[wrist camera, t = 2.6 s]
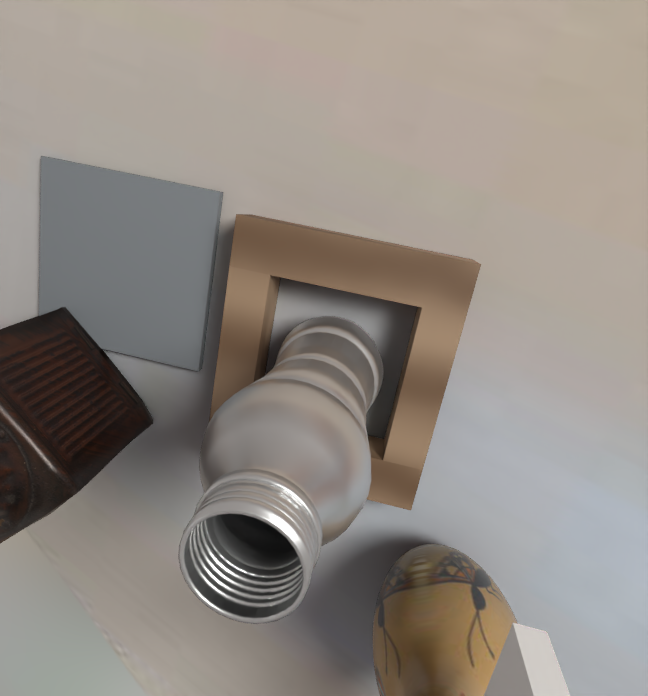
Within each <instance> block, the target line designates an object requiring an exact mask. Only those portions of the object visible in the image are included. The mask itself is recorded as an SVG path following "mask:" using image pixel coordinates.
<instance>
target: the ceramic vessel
mask: <svg viewBox="0 0 648 696" xmlns="http://www.w3.org/2000/svg"><path fill="white" fill-rule="evenodd" d="M512 623H516V624H518V623H517V620H516V618H515V616H514V614H513V612H512V610H511V608H510V606H509V604H508V602H507V601H506V599H505V597H504V596H503V594H502V592H501V591H500V589H499V588H498V587H497V585H496V584H495V583H494V581H493V580H492V579H491V578H490V576H489V575H488V574H487V573H486V572H485V571H484V570H483V569H482V568H481V567H480V566H479V565H478V564H477V563H476V562H475V561H473V560H472V559H471V558H469V557H468V556H467V555H465V554H463V553H462V552H460V551H458V550H456V549H454V548H451V547H448V546H445V545H439V544H426V545H421V546H418V547H415V548H413V549H411V550H409V551H408V552H406V553H405V554H403V555H402V556H401V557H400V558H399V559H398V560H397V561H396V562H395V563H394V565H393V566H392V567H391V569H390V570H389V572H388V574H387V576H386V578H385V580H384V582H383V584H382V587H381V589H380V592H379V596H378V599H377V603H376V608H375V614H374V622H373V659H374V668H375V675H376V680H377V685H378V690H379V694H380V696H484V694H485V691H486V689H487V686H488V684H489V681H490V679H491V676H492V674H493V671H494V669H495V666H496V664H497V661H498V659H499V656H500V654H501V651H502V649H503V646H504V643H505V641H506V638H507V636H508V633H509V631H510V628H511V626H512Z"/></svg>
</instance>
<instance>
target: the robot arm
mask: <svg viewBox="0 0 648 696" xmlns="http://www.w3.org/2000/svg"><path fill="white" fill-rule="evenodd" d="M484 696H570V694H569V691H568V688H567V685H566V683H565V680H564V677H563V674H562V672H561V669H560V666H559V663H558V661H557V658H556V655H555V652H554V649H553V647H552V644H551V641H550V638H549V636H548V633H547V632H546V631H543V630H539V629H535V628H531V627H527V626H524V625H520V624H516V623H512V626H511V628H510V631H509V633H508V636H507V638H506V641H505V643H504V646H503V649H502V651H501V654H500V656H499V659H498V661H497V664H496V666H495V669H494V671H493V674H492V676H491V679H490V681H489V684H488V686H487V689H486V691H485V694H484Z"/></svg>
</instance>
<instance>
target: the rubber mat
mask: <svg viewBox="0 0 648 696" xmlns="http://www.w3.org/2000/svg"><path fill="white" fill-rule="evenodd" d="M222 198H223V192H219V191H214V190H209V189H205V188H200V187H195V186H190V185H185V184H180V183H175V182H170V181H165V180H160V179H155V178H150V177H145V176H140V175H135V174H130V173H125V172H120V171H115V170H110V169H105V168H100V167H95V166H90V165H85V164H80V163H75V162H70V161H65V160H60V159H55V158H50V157H45V156H41V192H40V264H39V316H40V315H43V314H46V313H49V312H52V311H55V310H57V309H59V308H61V307H66V308H67V310H68V311H69V312H70V313H71V314H72V315H73V316H74V318H75V319H76V320H77V321H78V322H79V323H80V325H81V326H82V327H83V328H84V329H85V330H86V332H87V333H88V334H89V335H90V336H91V337H92V339H93V340H94V341H95V342H96V343H97V344H98V345H99V347H100V348H101V349H105V350H110V351H114V352H118V353H122V354H127V355H131V356H135V357H139V358H144V359H148V360H152V361H156V362H161V363H165V364H169V365H173V366H178V367H182V368H186V369H190V370H195V371H200V370H201V369H202V363H203V355H204V347H205V338H206V330H207V322H208V314H209V305H210V297H211V289H212V281H213V272H214V264H215V256H216V248H217V239H218V231H219V223H220V215H221V206H222Z"/></svg>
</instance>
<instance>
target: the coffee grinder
mask: <svg viewBox="0 0 648 696" xmlns="http://www.w3.org/2000/svg"><path fill="white" fill-rule="evenodd" d="M152 423H153V418H152V416H151V415H150V413H149V411H148V409H147V407H146V406H145V404H144V402H143V401H142V399H141V398H140V397H139V395H138V394H137V393H136V392H135V390H134V389H133V388H132V386H131V385H130V384H129V383H128V381H127V380H126V379H125V377H124V376H123V375H122V374H121V372H120V371H119V370H118V369H117V367H116V366H115V365H114V364H113V362H112V361H111V360H110V359H109V357H108V356H107V355H106V354H105V352H104V351H103V350H102V349H101V348H100V347H99V345H98V344H97V343H96V342H95V341H94V340H93V339H92V337H91V336H90V335H89V334H88V333H87V332H86V330H85V329H84V328H83V327H82V326H81V325H80V323H79V322H78V321H77V320H76V319H75V318H74V316H73V315H72V314H71V313H70V312H69V311H68V310H67V308H66V307H61V308H59V309H57V310H55V311H52V312H49V313H46V314H43V315H40V316H37V317H34V318H31V319H29V320H26V321H23V322H20V323H17V324H14V325H12V326H9V327H6V328H3V329H1V330H0V543H2V542H3V541H5V540H6V539H8V538H9V537H11V536H13V535H15V534H16V533H18V532H19V531H21V530H23V529H24V528H26V527H28V526H29V525H31V524H33V523H35V522H37V521H38V520H40V519H42V518H44V517H46V516H47V515H49V514H51V513H52V512H53V511H54V510H56V509H57V508H58V507H59V506H61V505H62V504H63V503H64V502H66V501H67V500H68V499H69V498H71V497H72V496H73V495H75V494H76V493H77V492H78V491H80V490H81V489H82V488H83V487H84V486H85V485H86V484H87V483H88V482H89V481H90V480H91V479H92V478H93V477H94V476H95V475H97V474H98V473H99V472H100V471H101V470H102V469H103V468H104V467H105V466H106V465H107V464H108V463H109V462H110V461H111V460H112V459H113V458H114V457H115V456H116V455H117V454H118V453H119V452H120V451H121V450H123V449H124V448H125V447H126V446H127V445H128V444H129V443H130V442H131V441H132V440H133V439H135V438H136V437H137V436H138V435H139V434H141V433H142V432H143V431H144V430H145V429H147V428H148V427H149V426H150V425H151V424H152Z"/></svg>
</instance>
